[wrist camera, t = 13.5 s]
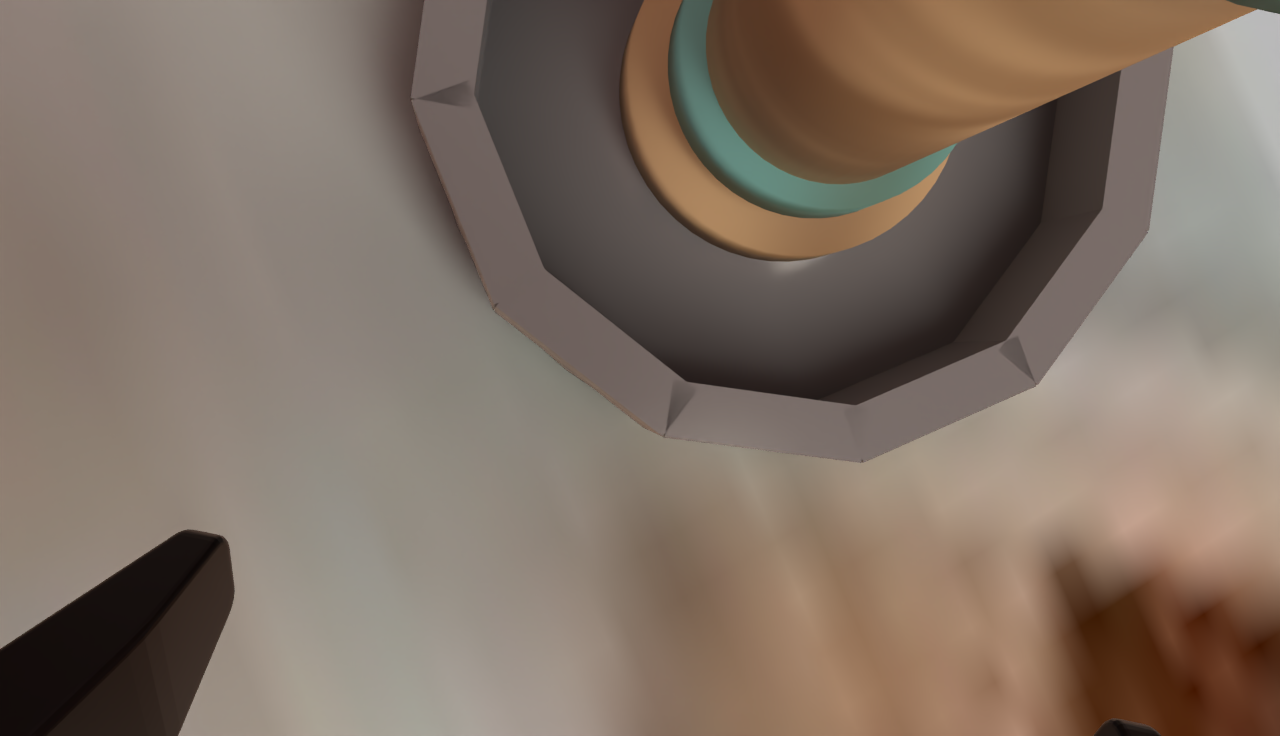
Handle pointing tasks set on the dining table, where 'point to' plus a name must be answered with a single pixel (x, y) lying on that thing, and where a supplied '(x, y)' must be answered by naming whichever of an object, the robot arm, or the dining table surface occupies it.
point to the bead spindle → (854, 100)
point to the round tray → (772, 290)
